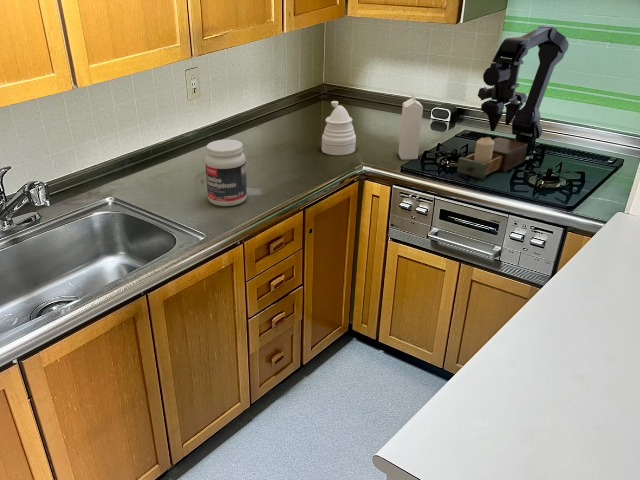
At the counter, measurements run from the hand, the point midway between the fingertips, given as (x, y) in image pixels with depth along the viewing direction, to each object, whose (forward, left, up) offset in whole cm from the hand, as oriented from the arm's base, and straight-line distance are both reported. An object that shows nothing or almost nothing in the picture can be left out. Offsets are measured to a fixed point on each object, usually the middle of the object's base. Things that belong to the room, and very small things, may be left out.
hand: (499, 127), depth 212 cm
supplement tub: (+95, +7, -13) cm, 96 cm away
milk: (+25, -16, -13) cm, 32 cm away
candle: (+8, +6, -11) cm, 15 cm away
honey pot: (+47, -31, -13) cm, 58 cm away
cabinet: (-3, -1, -13) cm, 13 cm away
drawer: (+9, +6, -12) cm, 16 cm away
